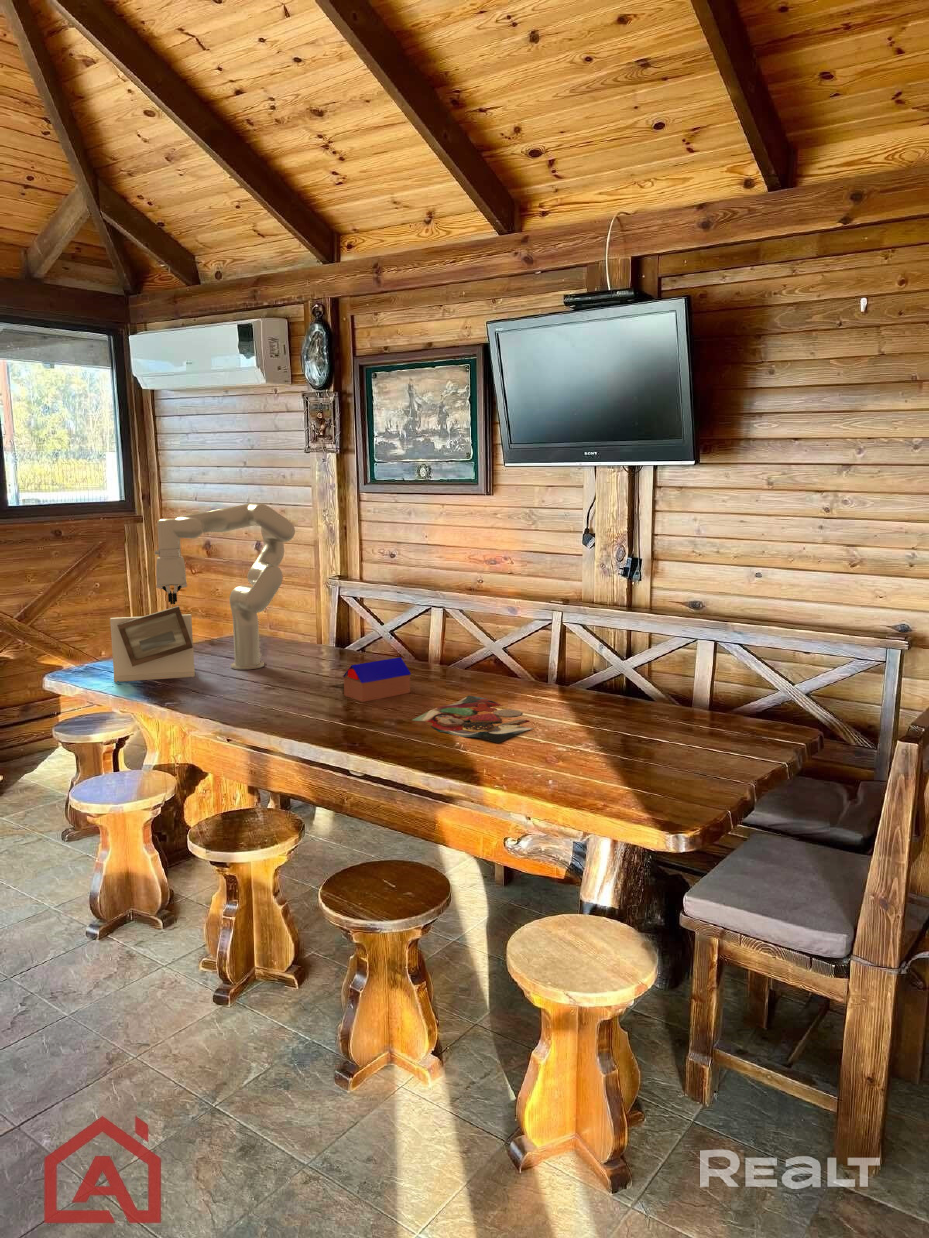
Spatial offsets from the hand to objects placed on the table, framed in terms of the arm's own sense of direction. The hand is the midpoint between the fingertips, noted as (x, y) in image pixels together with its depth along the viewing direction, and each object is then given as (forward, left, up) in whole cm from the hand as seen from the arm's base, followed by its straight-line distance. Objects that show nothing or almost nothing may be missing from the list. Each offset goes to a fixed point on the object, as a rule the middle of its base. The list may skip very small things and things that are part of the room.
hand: (172, 603), depth 331 cm
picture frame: (+2, -4, -19) cm, 20 cm away
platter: (+40, +119, -29) cm, 129 cm away
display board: (-1, -9, -28) cm, 29 cm away
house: (+13, +79, -28) cm, 85 cm away
